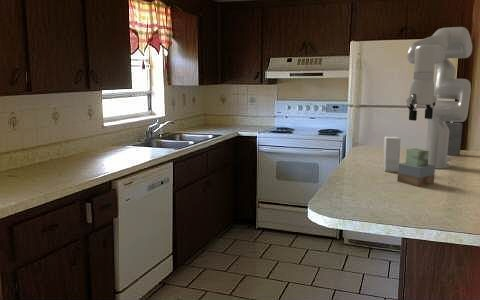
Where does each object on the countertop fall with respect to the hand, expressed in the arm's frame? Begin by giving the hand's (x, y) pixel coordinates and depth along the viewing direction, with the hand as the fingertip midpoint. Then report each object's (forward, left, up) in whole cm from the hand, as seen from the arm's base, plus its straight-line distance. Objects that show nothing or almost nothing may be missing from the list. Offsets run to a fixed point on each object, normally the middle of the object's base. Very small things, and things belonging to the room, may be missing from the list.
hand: (420, 119), depth 182 cm
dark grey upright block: (-68, -34, -26) cm, 80 cm away
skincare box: (-9, -21, -26) cm, 35 cm away
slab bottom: (+1, 0, -27) cm, 27 cm away
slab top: (+1, 0, -23) cm, 23 cm away
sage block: (0, 0, -19) cm, 19 cm away
